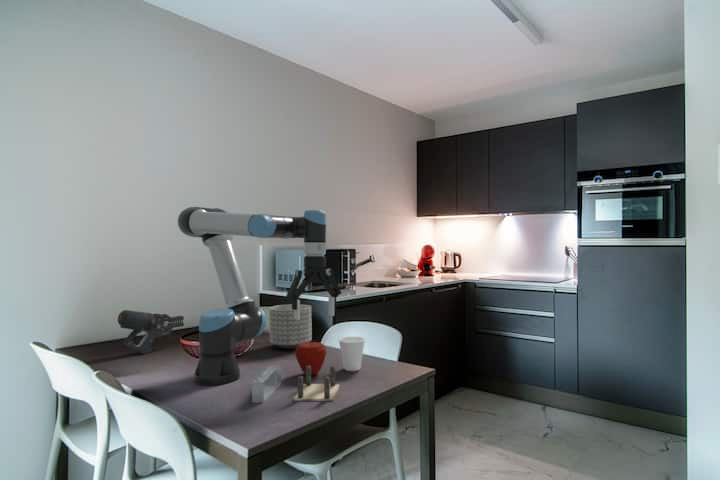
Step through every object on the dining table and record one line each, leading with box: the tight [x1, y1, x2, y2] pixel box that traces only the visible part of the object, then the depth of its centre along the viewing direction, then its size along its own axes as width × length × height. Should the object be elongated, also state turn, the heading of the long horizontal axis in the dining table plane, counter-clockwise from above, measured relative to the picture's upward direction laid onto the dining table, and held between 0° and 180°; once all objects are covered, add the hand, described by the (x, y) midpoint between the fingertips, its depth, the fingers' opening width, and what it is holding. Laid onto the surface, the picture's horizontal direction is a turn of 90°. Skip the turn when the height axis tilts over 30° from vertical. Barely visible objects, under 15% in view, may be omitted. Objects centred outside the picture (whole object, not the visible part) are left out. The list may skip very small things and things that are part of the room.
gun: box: [117, 309, 185, 355], centre depth 184 cm, size 7×28×20 cm, turn 144°
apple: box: [294, 340, 327, 376], centre depth 147 cm, size 11×11×12 cm
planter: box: [268, 303, 313, 350], centre depth 189 cm, size 19×19×18 cm
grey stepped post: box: [251, 364, 282, 403], centre depth 130 cm, size 17×4×6 cm, turn 175°
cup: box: [338, 336, 366, 372], centre depth 153 cm, size 10×10×11 cm
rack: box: [292, 365, 340, 402], centre depth 128 cm, size 12×13×7 cm
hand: (314, 317), depth 141 cm, fingers open, 13 cm apart
